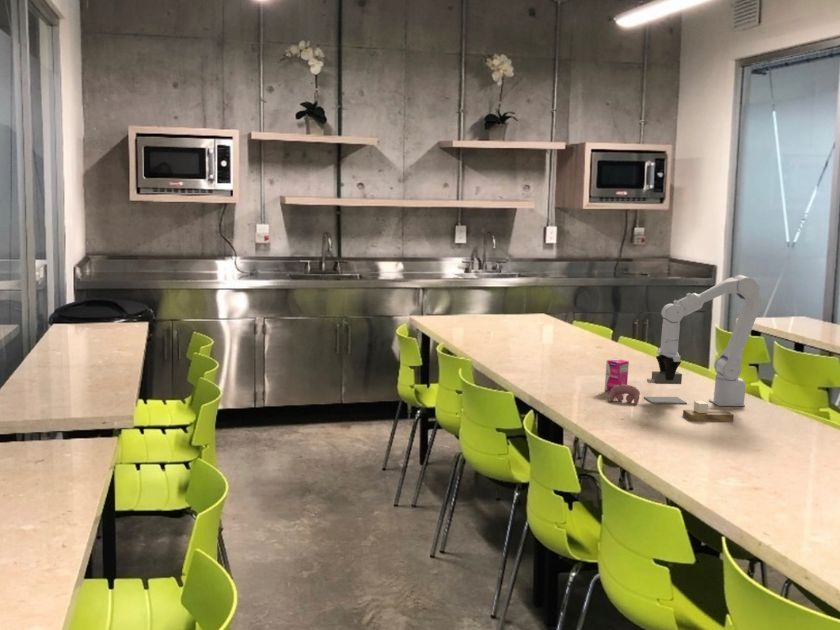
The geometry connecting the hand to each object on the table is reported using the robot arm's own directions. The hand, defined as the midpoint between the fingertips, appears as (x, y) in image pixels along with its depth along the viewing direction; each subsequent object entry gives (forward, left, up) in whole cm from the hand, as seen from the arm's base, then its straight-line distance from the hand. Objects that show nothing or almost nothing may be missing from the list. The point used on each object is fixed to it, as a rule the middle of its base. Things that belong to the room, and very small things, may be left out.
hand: (666, 378), depth 288 cm
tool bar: (0, 0, -2) cm, 2 cm away
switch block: (-5, +22, -8) cm, 24 cm away
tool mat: (0, 0, -8) cm, 8 cm away
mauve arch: (+15, +1, -8) cm, 17 cm away
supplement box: (+13, -13, -8) cm, 20 cm away
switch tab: (-2, +22, -6) cm, 23 cm away
